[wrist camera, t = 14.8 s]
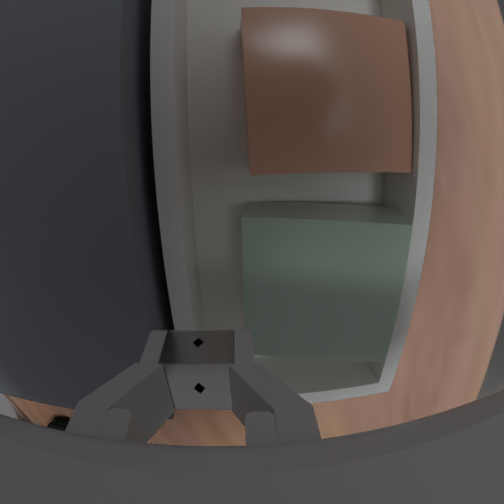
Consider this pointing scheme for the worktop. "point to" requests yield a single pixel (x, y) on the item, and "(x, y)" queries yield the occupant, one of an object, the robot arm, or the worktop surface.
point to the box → (267, 176)
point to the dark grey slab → (76, 197)
